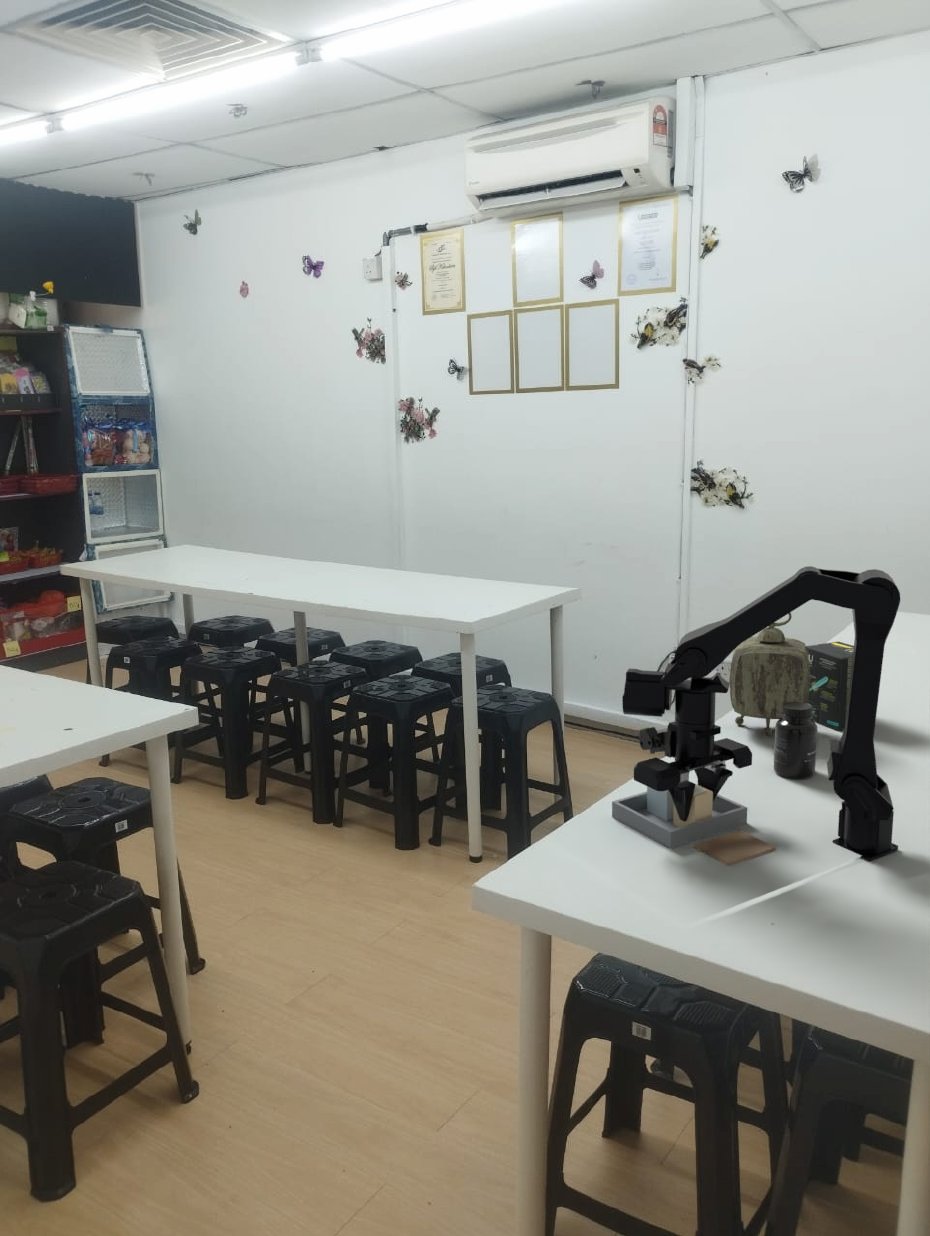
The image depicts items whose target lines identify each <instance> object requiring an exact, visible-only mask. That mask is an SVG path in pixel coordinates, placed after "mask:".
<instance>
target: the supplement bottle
mask: <svg viewBox="0 0 930 1236" xmlns="http://www.w3.org/2000/svg"><path fill="white" fill-rule="evenodd" d="M782 716H783V718H781V719H777V721H776V723H775V730H774V747H773V749H774V750H773V751H774V752H773V770H774V772H775V774H777V775H779V776H781V777H784V778H788V779H796V780H802V779H808V778H811V777H813V776H814V775H815V772H816V763H817V762H816V761H817V749H818V748H817V745H818V726H817V724H816V722H815V721H812V720H811V718H812V706H811V705H809V704H806V703H801V702H787V703H784V704H783V707H782Z"/></svg>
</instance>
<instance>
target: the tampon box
mask: <svg viewBox="0 0 930 1236" xmlns="http://www.w3.org/2000/svg"><path fill="white" fill-rule="evenodd" d="M805 646H806V648H807V651H808V657H809V667H810V690H809V698H808V703H807V704H809V705H811V706H812V718H811V720H812V721H813V722H815V723H817V724H820V725H822V726H825V727H828V728H830V729H832V730H834V731H835V730H836V731H841V730H844V729H845V722H846V713H847V704H848V695H849V686H850V677H851V668H852V658H853V649H854V645H851V644H848V643H846V642H842V641H834V642H826V643H817V644H813V645H805Z"/></svg>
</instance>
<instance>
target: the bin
mask: <svg viewBox="0 0 930 1236" xmlns="http://www.w3.org/2000/svg"><path fill="white" fill-rule="evenodd" d="M611 817H612V819H614V820H617V821H619V822H620V823H622V824H624V825H626V826H627V827H629V828H631V829H633V830H635V831H637V832H639V833H640V834H642V835H644V836H645V837H648V838H650V839H651V840H653V841H656V842H658V844H661V845H663V846H664V847H666V848H668V849H670V850H672V849H675V848H678V847H680V846H684V845H686V844H690V843H692V842H696V841H698V840H701V839H705V838H707V837H709V836H710V837H711V836H713V835H716V834H718V833H722V832H725V831H727V830H728V831H729V830H731V829H734V828H736V827H740V826H742V825H746V824H748V807H747V806H745V805H742V804H741V803H739V802H736V801H734V800H731V799H730V798H727V797H724V796H722V795H720V794H719V793H718V794H717V796H716V798H715V799H714V801H713V805H712V817H709V818H706V819H703V820H700V821H697V822H694V823H691V824H688V825H685V826H682V827H678V826H676V825H674V824H673V819H671V820H667V821H666V820H664V819H662V818H660V817H658V816H656V815H654V814H652V813H650V812H649V811H647V790H646V791H644V792H640V793H637V794H633V795H630V796H627V797H623V798H619V799H616V800H612V801H611Z"/></svg>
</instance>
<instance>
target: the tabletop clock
mask: <svg viewBox="0 0 930 1236" xmlns="http://www.w3.org/2000/svg"><path fill="white" fill-rule="evenodd" d="M791 620H792V612H790V613H789V614H788V618H787V619H786V620H784V621H781V622H774V623H773V624H771V625H769V626H768V627H766V628H765V629H763V630H761V631H760V632H758V633H757V635H754V636H752V637H750V638H749V639H747V640H745V641H744V642H742V643H741V644H740V645H739V646H738V647H736V648H735V649H734V650H733V651H732V658H731V663H730V672H729V682H728V683H729V698H730V702H731V707H732V709H733V711H734V712H735V713H737V714H739V715H740V716H736V718H735V720H734V721H735V724H736V725H738V726H739V725H740V726H741V725H743V724H744V721H745V720H744V718H745V717H748V718H757V719H761V720H762V719H763V720H765V724H766V725H765V727H764V728H763V729H762V733H763V734H764V735H765V736H771V735H772V733H773V729H772V727H770V725H771V720H779V719H781V718H783V716H782V707H783V704H784V703H787V702H801V703H806V704H807V703H808V698H809V690H810V667H809V657H808V651H807V648H806V646H807V645H806V644H805V642H803V641H801V640H799V639H796V638H793V637H785V634H784V632H783V630H782V629H780V628H778V627H782V626H785V625H787V624H788V623H789V622H791Z"/></svg>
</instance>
